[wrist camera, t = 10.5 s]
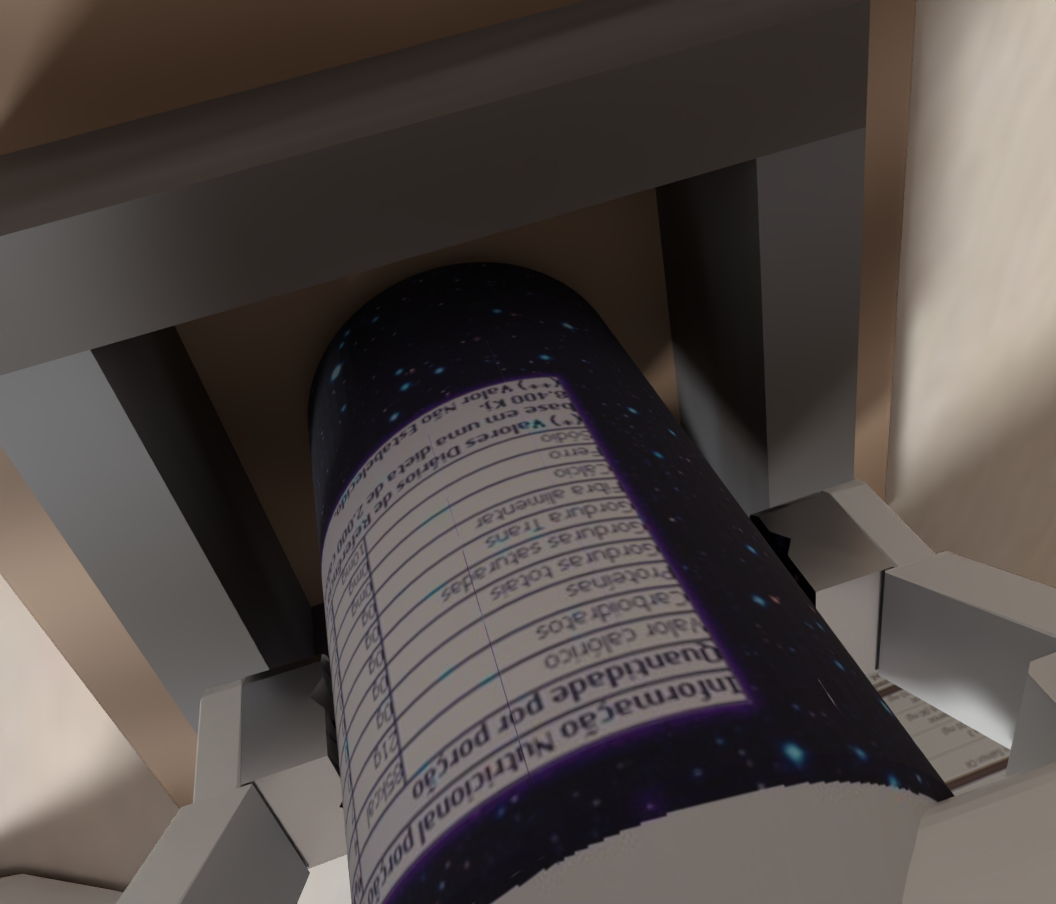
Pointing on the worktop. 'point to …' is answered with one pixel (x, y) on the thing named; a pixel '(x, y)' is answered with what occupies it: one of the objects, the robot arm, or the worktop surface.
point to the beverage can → (574, 632)
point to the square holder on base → (403, 272)
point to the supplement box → (946, 740)
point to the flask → (52, 892)
